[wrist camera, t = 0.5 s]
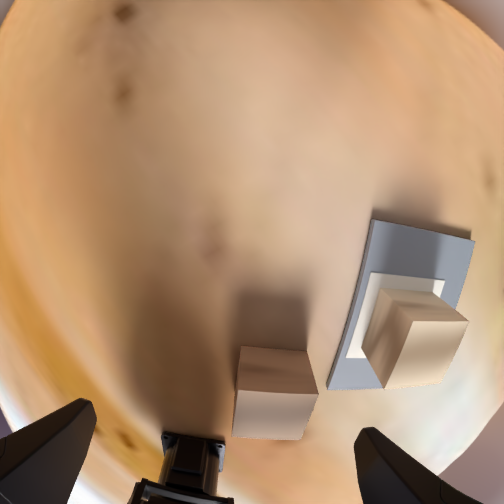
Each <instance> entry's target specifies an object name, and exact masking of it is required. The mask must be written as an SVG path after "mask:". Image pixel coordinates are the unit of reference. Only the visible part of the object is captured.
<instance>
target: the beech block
mask: <svg viewBox="0 0 504 504" xmlns="http://www.w3.org/2000/svg"><path fill="white" fill-rule="evenodd" d="M468 323H469V321H468V320H467V319H466V318H465V317H463V316H462V315H461V314H460V313H459V312H457V311H456V310H455V309H454V308H452V307H451V306H450V305H448V304H447V303H446V302H445V301H443V300H442V299H441V298H440V297H438V296H437V295H436V294H434V293H433V292H425V291H413V290H402V289H391V288H380V289H379V292H378V296H377V299H376V303H375V306H374V309H373V313H372V316H371V319H370V322H369V325H368V328H367V331H366V334H365V337H364V340H363V343H362V346H361V349H362V351H363V352H364V354H365V356H366V358H367V359H368V361H369V363H370V365H371V367H372V368H373V370H374V372H375V374H376V376H377V378H378V379H379V381H380V383H381V385H382V387H383V389H384V390H385V389H397V388H407V387H416V386H424V385H431V384H438V383H441V381H442V379H443V377H444V375H445V373H446V372H447V370H448V368H449V366H450V364H451V362H452V360H453V357H454V355H455V353H456V351H457V349H458V347H459V345H460V342H461V340H462V338H463V335H464V333H465V331H466V328H467V326H468Z"/></svg>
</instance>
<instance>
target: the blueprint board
mask: <svg viewBox="0 0 504 504" xmlns="http://www.w3.org/2000/svg"><path fill="white" fill-rule="evenodd" d="M474 244H475V241H472V240H469V239H465V238H461V237H457V236H452V235H448V234H444V233H439V232H435V231H430V230H425V229H421V228H416V227H411V226H406V225H401V224H396V223H391V222H386V221H381V220H375V219H371V224H370V229H369V235H368V239H367V244H366V249H365V254H364V258H363V262H362V267H361V271H360V275H359V279H358V283H357V287H356V291H355V295H354V299H353V302H352V306H351V310H350V313H349V317H348V320H347V324H346V327H345V330H344V334H343V337H342V340H341V343H340V346H339V349H338V352H337V355H336V358H335V361H334V364H333V367H332V370H331V373H330V376H329V379H328V381H327V384H326V387H327V390H356V389H377V388H383V387H382V385H381V383H380V381H379V379H378V378H377V376H376V374H375V372H374V370H373V368H372V367H371V365H370V363H369V361H368V359H367V358H366V356H365V354H364V352H363V351H362V349H361V346H362V343H363V340H364V337H365V334H366V331H367V328H368V325H369V322H370V319H371V316H372V313H373V309H374V306H375V303H376V299H377V296H378V292H379V289H380V288H391V289H402V290H413V291H425V292H433V293H434V294H436V295H437V296H438V297H440V298H441V299H442V300H443V301H445V302H446V303H447V304H448V305H450V306H451V307H452V308H454V309H455V308H456V306H457V303H458V300H459V297H460V294H461V291H462V288H463V285H464V281H465V278H466V275H467V271H468V268H469V264H470V260H471V256H472V252H473V248H474Z"/></svg>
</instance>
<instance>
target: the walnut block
mask: <svg viewBox="0 0 504 504" xmlns="http://www.w3.org/2000/svg"><path fill="white" fill-rule="evenodd" d="M318 395H319V393H318V390H317V386H316V382H315V379H314V375H313V371H312V368H311V364H310V361H309V357H308V354H307V351H297V350H283V349H270V348H259V347H250V346H241V350H240V358H239V365H238V373H237V380H236V388H235V397H234V410H233V423H232V437H242V438H255V439H276V440H301V438H302V435H303V433H304V430H305V428H306V426H307V423H308V421H309V418H310V416H311V413H312V411H313V408H314V405H315V403H316V400H317V398H318Z"/></svg>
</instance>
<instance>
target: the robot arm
mask: <svg viewBox="0 0 504 504" xmlns="http://www.w3.org/2000/svg"><path fill="white" fill-rule="evenodd" d="M96 422H97V417H96V413H95V410H94V407H93V404H92V402H91V401H90V400H87V399H84V398H79V399H77V400H75V401H73V402H71V403H69V404H67V405H66V406H64V407H62V408H60V409H58V410H56V411H54V412H53V413H51V414H49V415H47V416H45V417H43V418H41V419H39V420H37V421H35V422H33V423H31V424H29V425H28V426H26V427H24V428H22V429H20V430H18V431H16V432H14V433H12V434H10V435H8V436H7V437H3V438H1V439H0V504H67V502H68V499H69V497H70V494H71V492H72V489H73V487H74V484H75V482H76V479H77V477H78V474H79V472H80V470H81V467H82V465H83V463H84V460H85V458H86V455H87V452H88V448H89V445H90V442H91V438H92V435H93V432H94V428H95V425H96ZM161 439H162V445H163V451H164V457H165V458H164V461H163V465H162V469H161V473H160V476H159V480H158V483H155V482H152V481H149V480H148V479H145V478H142V480H141V482H136V484H135V487H134V490H133V493H132V495H131V497H130V499H129V501H128V503H127V504H234V498H229V497H228V498H224V497H217V496H216V492H217V482H218V472H222V469H223V461H224V453H225V443H224V442H223V441H216V440H209V439H202V438H195V437H189V436H183V435H178V434H173V433H168V432H163V433H162V435H161ZM354 453H355V461H356V469H357V477H358V484H359V488H360V492H361V496H362V500H363V504H483V503H481V502H479V501H477V500H475V499H473V498H471V497H469V496H467V495H465V494H463V493H462V492H460V491H458V490H456V489H455V488H454V487H452V486H451V485H449V484H448V483H446V482H444V481H443V480H441V479H440V478H439V477H438V476H437V475H435V474H434V473H432V472H431V471H430V470H428V469H427V468H426V467H424V466H423V465H422V464H420V463H419V462H418V461H417V460H415V459H414V458H413V457H411V456H410V455H409V454H407V453H406V452H405V451H404V450H402V449H401V448H400V447H399V446H397V445H396V444H395V443H394V442H392V441H391V440H390V439H389V438H387V437H386V436H385V435H384V434H382V433H381V432H380V431H379V430H377V429H376V428H375V427H367V428H363V429H362V430H361V431H360V433H359V435H358V437H357V439H356V441H355V443H354ZM147 500H148V501H147Z"/></svg>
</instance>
